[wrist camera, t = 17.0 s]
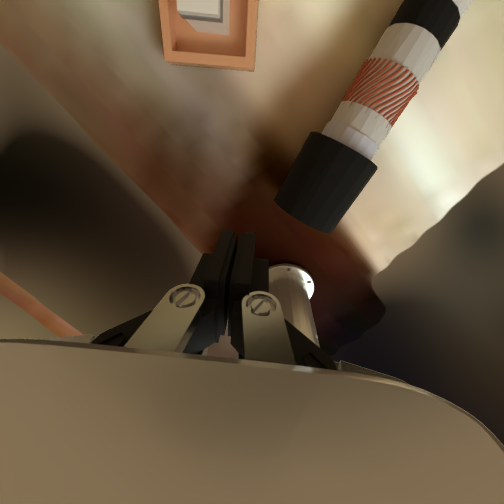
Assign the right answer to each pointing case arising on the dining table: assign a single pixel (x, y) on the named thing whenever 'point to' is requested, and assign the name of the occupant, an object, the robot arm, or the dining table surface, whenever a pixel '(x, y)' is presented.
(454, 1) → the striped tapered cylinder
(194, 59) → the dish
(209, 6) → the block
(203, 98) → the dining table surface
